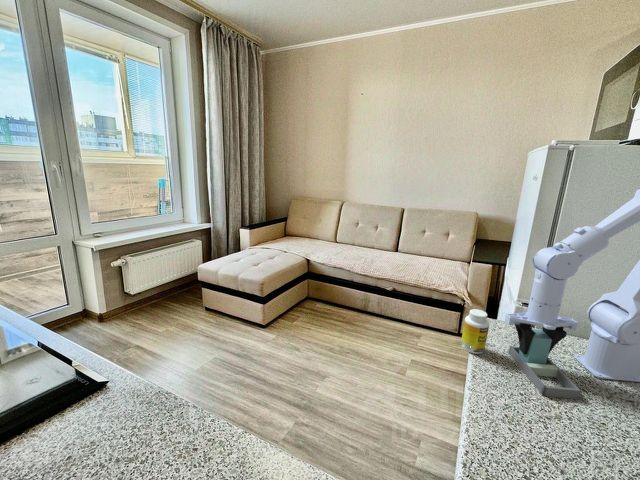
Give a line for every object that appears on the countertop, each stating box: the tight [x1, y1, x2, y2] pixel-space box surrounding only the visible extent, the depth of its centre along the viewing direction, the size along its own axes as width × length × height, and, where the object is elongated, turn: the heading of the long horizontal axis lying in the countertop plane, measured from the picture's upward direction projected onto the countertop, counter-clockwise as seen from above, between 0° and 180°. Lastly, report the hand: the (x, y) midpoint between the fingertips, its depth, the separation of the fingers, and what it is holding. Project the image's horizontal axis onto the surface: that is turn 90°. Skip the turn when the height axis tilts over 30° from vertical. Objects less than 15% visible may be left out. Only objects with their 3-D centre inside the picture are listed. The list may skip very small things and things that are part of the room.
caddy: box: [508, 345, 582, 400], centre depth 69 cm, size 7×14×2 cm, turn 174°
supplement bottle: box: [460, 308, 490, 355], centre depth 77 cm, size 6×6×10 cm
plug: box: [519, 328, 552, 365], centre depth 72 cm, size 4×4×8 cm
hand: (533, 352), depth 73 cm, fingers closed on plug, 4 cm apart
